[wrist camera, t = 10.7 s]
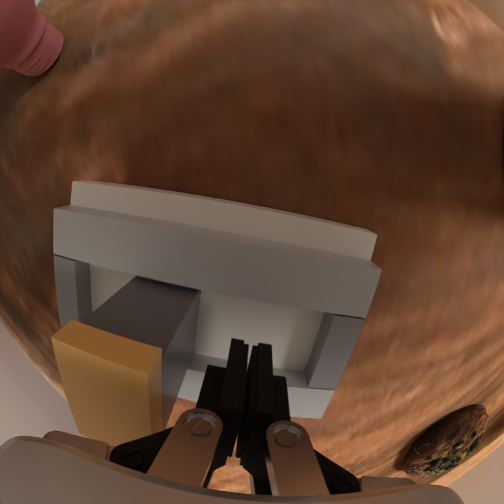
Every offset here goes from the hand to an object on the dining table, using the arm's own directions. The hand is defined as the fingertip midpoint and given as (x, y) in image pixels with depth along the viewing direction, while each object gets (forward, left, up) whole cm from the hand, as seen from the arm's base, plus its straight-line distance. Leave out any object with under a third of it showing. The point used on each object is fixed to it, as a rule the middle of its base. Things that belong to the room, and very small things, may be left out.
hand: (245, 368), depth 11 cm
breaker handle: (+4, 0, -3) cm, 5 cm away
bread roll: (-24, +13, -5) cm, 28 cm away
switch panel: (+3, 0, -5) cm, 5 cm away
